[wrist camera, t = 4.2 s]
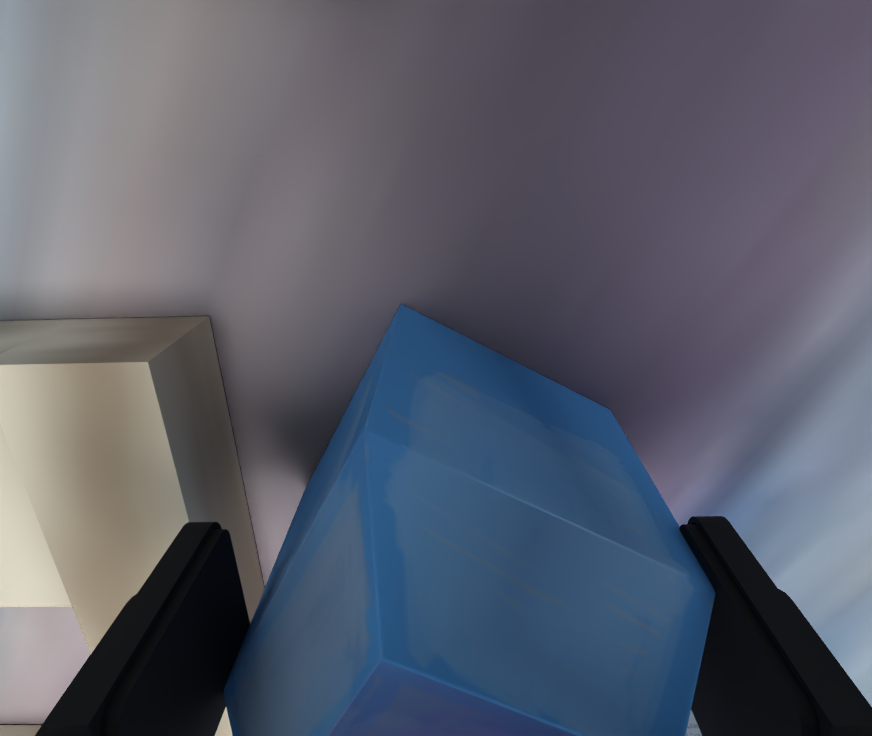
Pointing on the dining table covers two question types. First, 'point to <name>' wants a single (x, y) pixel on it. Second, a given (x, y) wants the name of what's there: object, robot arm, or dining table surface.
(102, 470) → the hole board
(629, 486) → the perfume bottle
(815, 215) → the dining table surface
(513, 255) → the dining table surface
